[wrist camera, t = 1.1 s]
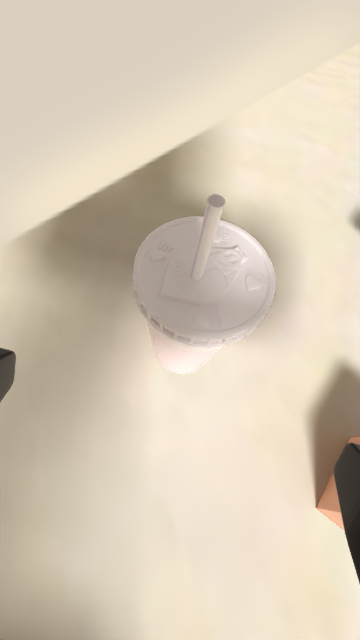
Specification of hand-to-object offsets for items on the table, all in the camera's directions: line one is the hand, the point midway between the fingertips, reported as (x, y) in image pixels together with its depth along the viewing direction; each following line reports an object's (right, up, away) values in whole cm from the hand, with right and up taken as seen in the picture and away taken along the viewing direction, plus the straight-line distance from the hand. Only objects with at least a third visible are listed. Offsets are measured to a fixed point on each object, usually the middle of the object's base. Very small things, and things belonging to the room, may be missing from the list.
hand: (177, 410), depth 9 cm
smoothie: (0, 0, +15) cm, 15 cm away
